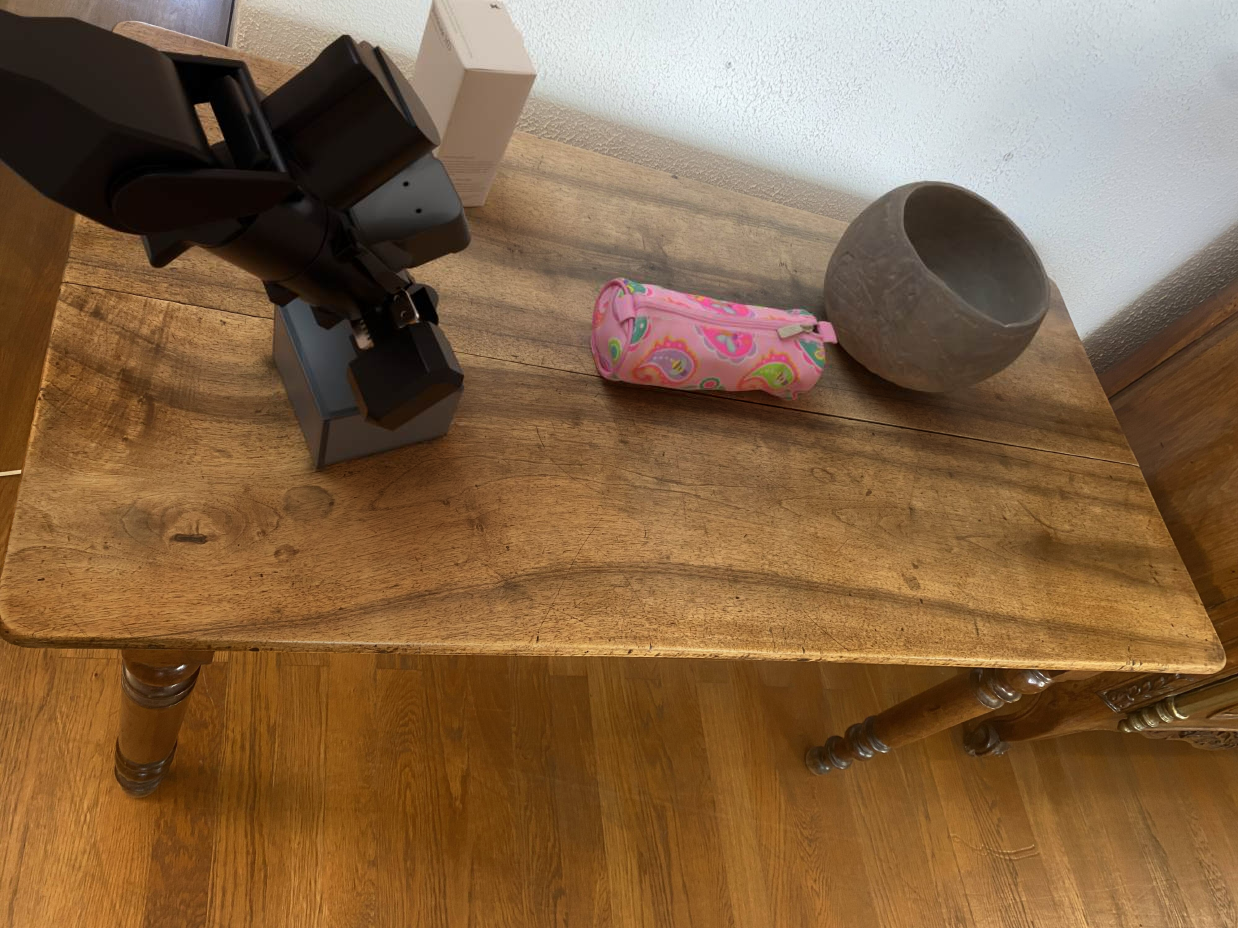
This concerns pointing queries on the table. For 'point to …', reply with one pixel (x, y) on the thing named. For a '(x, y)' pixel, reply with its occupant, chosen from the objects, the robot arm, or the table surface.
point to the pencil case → (705, 342)
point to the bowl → (935, 288)
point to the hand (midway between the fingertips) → (432, 323)
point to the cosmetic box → (472, 88)
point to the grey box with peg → (340, 389)
